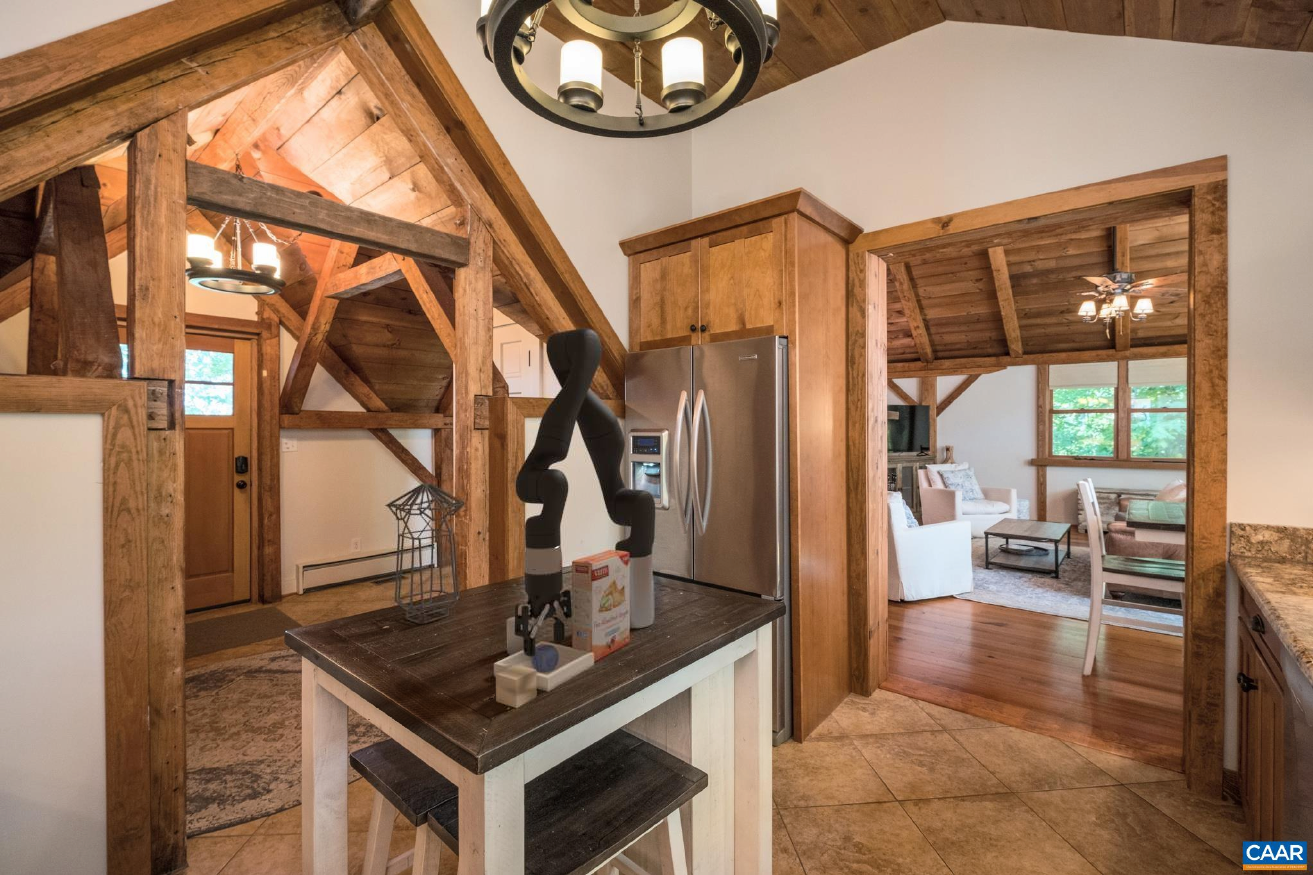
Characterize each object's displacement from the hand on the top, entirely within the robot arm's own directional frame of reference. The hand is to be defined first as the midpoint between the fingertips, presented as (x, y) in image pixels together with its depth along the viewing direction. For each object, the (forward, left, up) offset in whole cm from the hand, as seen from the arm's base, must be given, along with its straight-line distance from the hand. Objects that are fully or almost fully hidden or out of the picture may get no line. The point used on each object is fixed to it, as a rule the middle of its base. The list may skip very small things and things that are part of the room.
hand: (545, 648), depth 118 cm
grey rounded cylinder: (-5, -12, -5) cm, 14 cm away
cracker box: (-14, +4, -5) cm, 15 cm away
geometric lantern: (-11, -50, -5) cm, 51 cm away
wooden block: (+12, +4, -5) cm, 13 cm away
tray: (0, 0, -4) cm, 4 cm away
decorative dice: (0, 0, -4) cm, 4 cm away
